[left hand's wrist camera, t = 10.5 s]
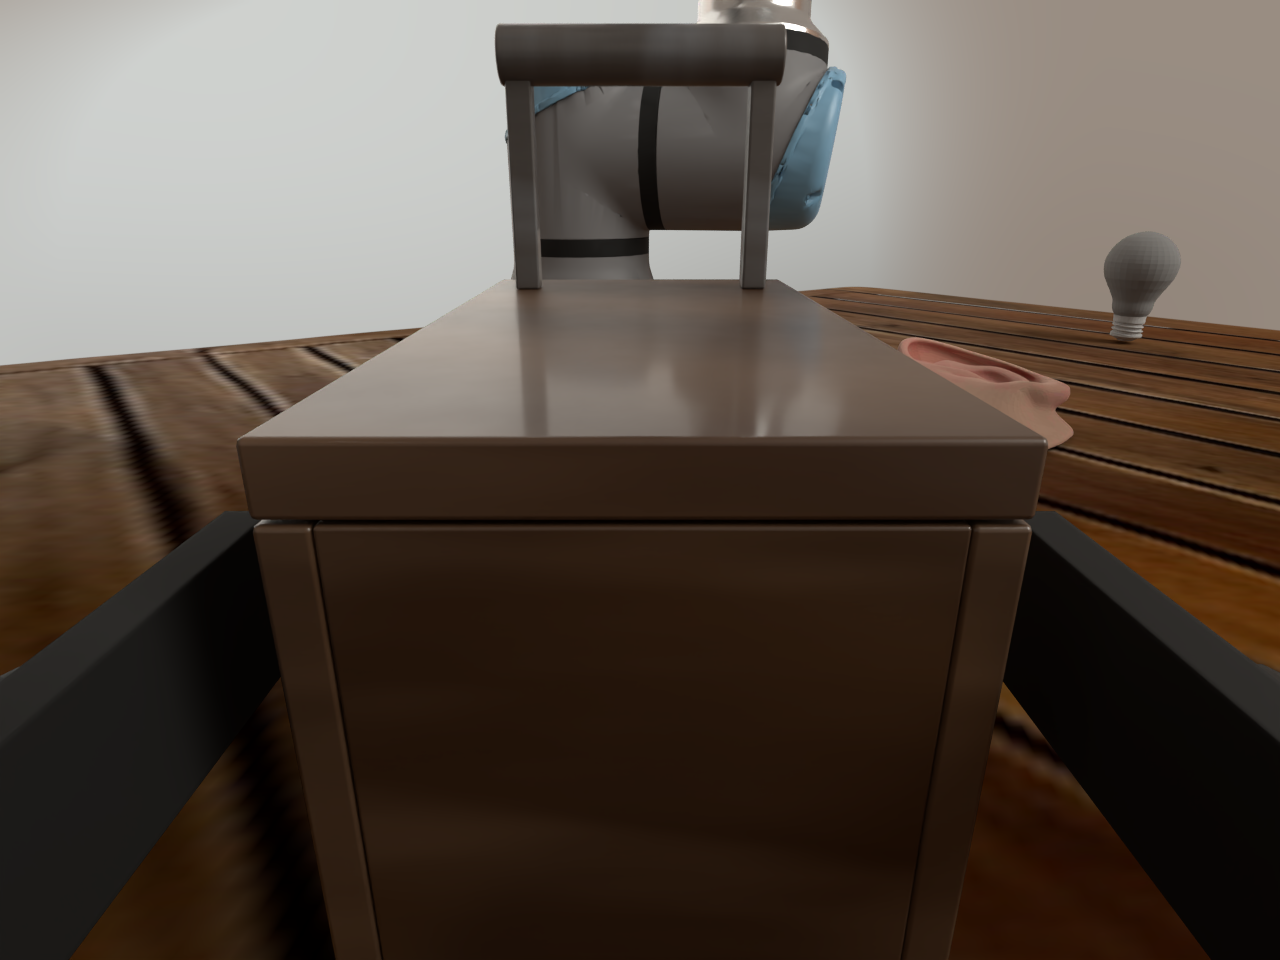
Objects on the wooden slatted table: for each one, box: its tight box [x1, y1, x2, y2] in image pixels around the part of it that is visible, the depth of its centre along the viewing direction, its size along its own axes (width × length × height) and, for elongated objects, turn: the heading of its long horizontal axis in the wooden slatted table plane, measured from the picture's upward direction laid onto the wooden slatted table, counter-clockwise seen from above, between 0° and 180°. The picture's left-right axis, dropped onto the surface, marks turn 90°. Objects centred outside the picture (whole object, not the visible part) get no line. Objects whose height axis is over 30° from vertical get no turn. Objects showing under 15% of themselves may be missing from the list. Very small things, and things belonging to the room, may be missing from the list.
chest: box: [253, 520, 1032, 960], centre depth 19 cm, size 17×9×10 cm, turn 0°
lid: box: [236, 23, 1048, 520], centre depth 16 cm, size 18×9×8 cm, turn 0°
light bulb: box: [1104, 232, 1181, 341], centre depth 72 cm, size 6×6×10 cm
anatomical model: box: [898, 338, 1074, 449], centre depth 47 cm, size 13×4×12 cm
